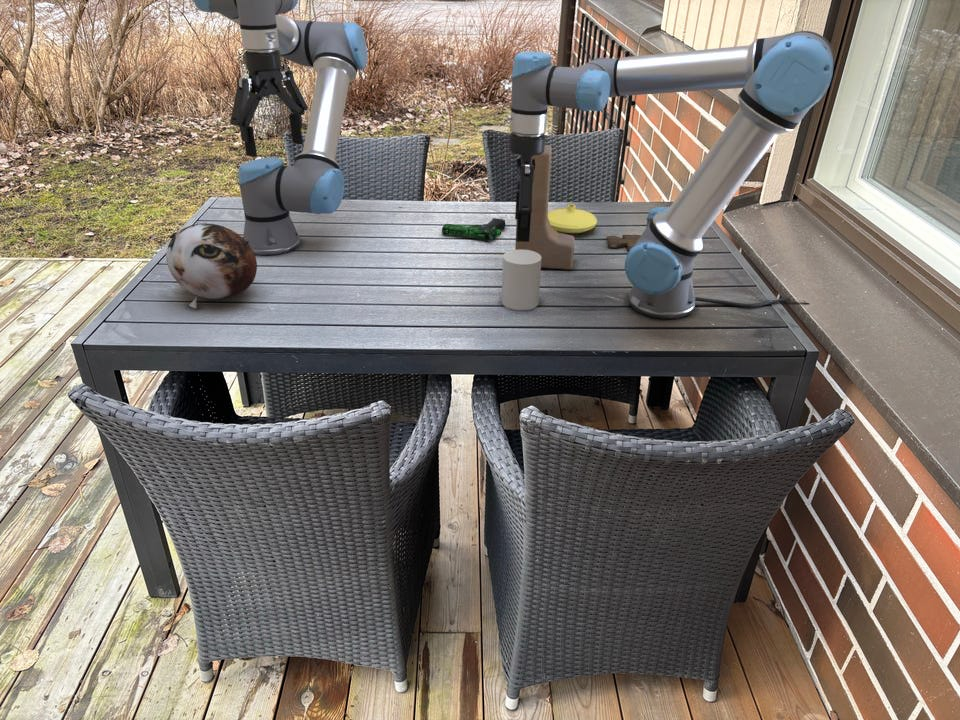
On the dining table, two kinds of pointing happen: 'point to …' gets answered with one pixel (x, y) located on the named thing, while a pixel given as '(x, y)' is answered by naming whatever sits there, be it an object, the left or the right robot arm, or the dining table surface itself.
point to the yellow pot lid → (571, 220)
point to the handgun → (476, 230)
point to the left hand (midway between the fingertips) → (275, 149)
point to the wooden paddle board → (622, 241)
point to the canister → (521, 279)
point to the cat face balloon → (211, 261)
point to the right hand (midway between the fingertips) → (521, 229)
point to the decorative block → (546, 221)
